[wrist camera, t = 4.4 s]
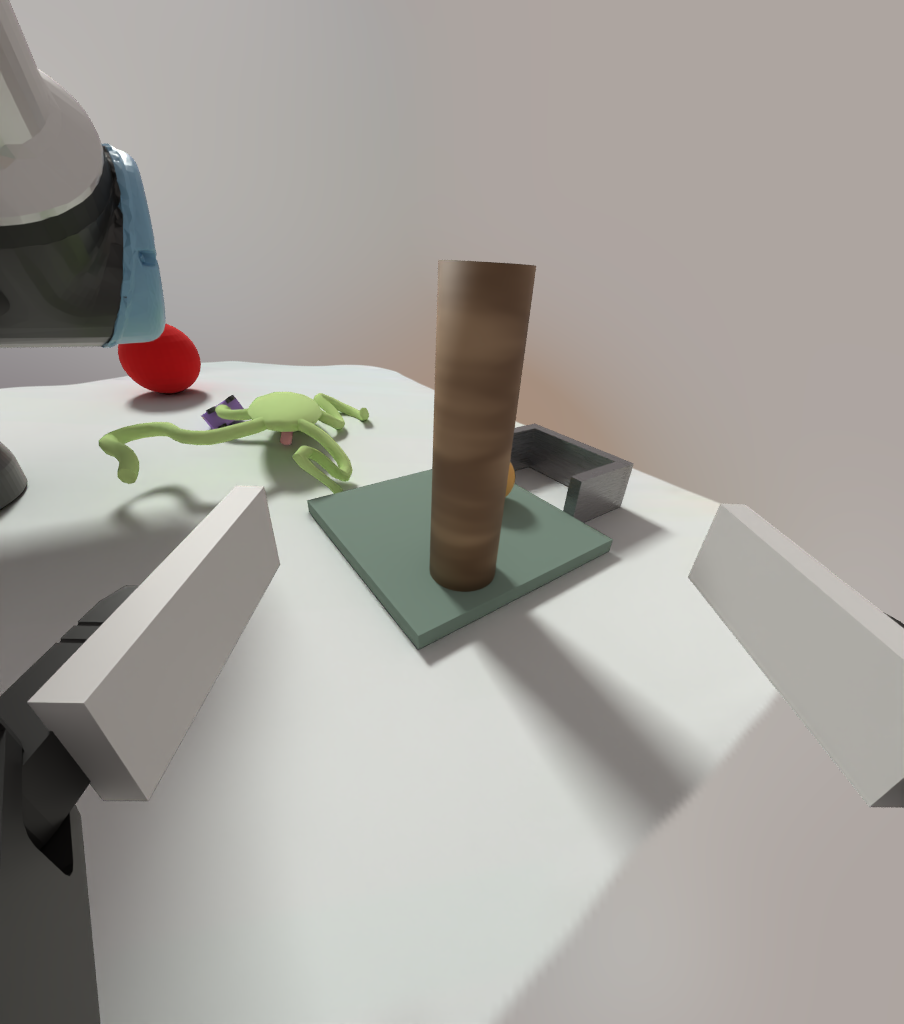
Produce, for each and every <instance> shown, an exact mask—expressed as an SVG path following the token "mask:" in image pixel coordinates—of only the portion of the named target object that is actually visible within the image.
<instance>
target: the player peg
mask: <svg viewBox="0 0 904 1024" xmlns="http://www.w3.org/2000/svg"><path fill="white" fill-rule="evenodd" d="M535 271H536V266H534V265H522V264H509V263H492V262H476V261H475V262H474V261H456V260H439V261H438V294H437V327H436V361H435V395H434V430H433V464H432V499H431V533H430V567H429V571H430V574H431V577H432V578H433V579H434V581H435V582H437V583H438V584H439V585H441V586H443V587H445V588H447V589H450V590H453V591H460V592H470V591H476V590H480V589H482V588H484V587H486V586H487V585H489V584H490V583H491V582H492V580H493V579H494V576H495V570H496V562H497V555H498V547H499V540H500V532H501V525H502V517H503V510H504V502H505V495H506V487H507V480H508V473H509V465H510V458H511V450H512V443H513V435H514V428H515V420H516V413H517V405H518V398H519V390H520V383H521V375H522V368H523V360H524V353H525V346H526V338H527V331H528V323H529V316H530V308H531V300H532V293H533V286H534V278H535Z"/></svg>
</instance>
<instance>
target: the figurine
mask: <svg viewBox="0 0 904 1024" xmlns="http://www.w3.org/2000/svg"><path fill="white" fill-rule="evenodd" d="M320 407H321V408H322V409H323V410H324V411H326V412H324V411H322V410H321V409H320ZM338 411H340V412H342V413H345V414H347V415H350V416H353V417H355V418H357V419H359V420H362V421H364V420H367V419H368V417H369V413H368V410H367V409H366V408H362V409H361V410H360V411H359V410H357V409H355V408H353V407H351V406H348V405H346V404H344V403H342V402H340V401H338V400H336V399H334V398H332V397H329V396H327V395H325V394H322V393H319V394H317V395H316V396H315V397H314V400H313V399H311V398H309V397H307V396H305V395H302V394H297V393H292V392H273V393H270V394H267V395H264V396H260V397H257V398H256V399H255V400H254V401H253V402H252V404H251V405H250V406H249V408H248V409H244V408H243V407H242V406H241V404H240V403H239V402H238V401H237V399H236V398H235V397H234V396H233V395H231V396H230V397H228V398H227V399H225V400H224V401H223V402H221V403H220V404H218V405H217V406H214V407H212V408H210V409H208V410H206V413H205V414H203V415H202V418H203V419H204V420H205V421H206V422H207V423H208V425H209V426H210V427H211V428H212V429H213V430H207V431H190V430H184V429H180V428H178V427H177V426H175V425H173V424H172V423H169V422H152V423H143V424H136V425H132V426H127V427H123V428H120V429H118V430H115V431H112V432H110V433H108V434H106V435H105V436H103V437H102V438H101V439H100V440H99V446H100V447H101V449H102V450H103V451H104V452H105V453H106V454H108V455H110V456H113V457H115V458H116V459H117V460H118V461H119V468H118V478H119V479H120V480H121V481H122V482H124V483H128V484H130V483H134V482H135V481H136V479H137V476H138V472H139V461H138V458H137V456H136V454H135V453H134V451H133V450H132V449H130V448H129V447H128V446H126V445H125V443H127V442H130V441H133V440H137V439H141V438H146V437H154V436H168V437H170V438H172V439H173V440H175V441H178V442H180V443H184V444H193V445H213V444H218V443H223V442H227V441H231V440H234V439H238V438H242V437H245V436H249V435H252V434H256V433H259V432H262V431H264V430H266V429H268V430H273V431H279V432H281V439H280V442H281V443H282V444H284V445H289V444H291V443H292V436H293V432H295V431H301V432H303V433H305V434H307V435H309V436H310V437H312V438H313V439H315V440H316V441H317V442H319V443H320V444H321V445H322V446H323V447H324V448H325V449H326V450H327V451H328V452H329V454H330V455H331V456H332V457H333V458H334V460H335V461H336V462H337V464H338V467H337V466H336V465H335V464H334V463H333V462H332V461H331V460H330V459H329V458H328V457H327V456H325V455H324V454H323V453H322V452H320V451H319V450H317V449H314V448H311V447H308V446H301V447H300V448H299V449H298V450H297V451H296V452H295V454H294V455H293V456H292V458H293V459H294V461H295V462H296V463H297V464H298V465H299V466H300V467H301V468H302V469H303V470H304V471H306V472H307V473H309V474H310V475H312V476H313V477H315V478H316V479H317V480H319V481H320V482H322V483H323V484H324V485H326V486H327V487H328V488H329V489H330V490H331V491H332V492H333V493H334V494H335V493H339V492H343V490H342V489H341V487H340V486H339V485H337V484H336V483H335V482H334V481H332V480H331V479H330V478H329V477H328V476H326V475H325V474H324V473H323V472H322V471H320V470H319V469H318V468H317V467H315V466H314V464H313V463H312V462H311V461H310V460H309V458H310V459H312V460H314V461H316V462H317V463H318V464H319V465H320V466H322V467H323V468H324V469H325V470H326V471H327V472H328V473H329V474H330V475H331V476H332V477H334V478H336V479H339V480H341V481H345V482H346V481H348V480H349V478H350V476H351V474H352V467H351V463H350V460H349V458H348V457H347V456H346V454H345V453H344V451H343V450H342V449H341V448H340V446H339V445H338V444H337V443H336V442H335V441H334V440H333V439H332V438H331V436H330V435H328V434H327V433H326V432H325V431H323V430H322V429H321V428H319V427H317V426H316V425H314V424H315V423H316V422H317V421H318V420H319V421H321V422H323V423H325V424H327V425H329V426H331V427H333V428H336V429H342V428H343V427H344V424H345V422H344V420H343V418H342V416H341V415H340V413H339V412H338ZM250 419H252V420H250ZM235 420H250V421H246V422H242V423H238V424H234V425H230V426H227V425H229V424H230V423H232V422H233V421H235Z"/></svg>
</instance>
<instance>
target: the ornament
mask: <svg viewBox="0 0 904 1024" xmlns="http://www.w3.org/2000/svg"><path fill="white" fill-rule="evenodd" d="M118 355H119V360H120V363H121V365H122V367H123V369H124V370H125V371H126V372H127V374H128V375H129V376H130V377H131V378H132V379H133V380H134V381H135V382H136V383H138V384H139V385H141V386H142V387H144V388H147V389H149V390H151V391H155V392H159V393H176V392H180V391H183V390H185V389H187V388H188V387H190V386H191V385H192V384H193V383H194V382H195V381H196V379H197V377H198V375H199V372H200V366H201V363H200V357H199V354H198V351H197V349H196V347H195V346H194V344H193V342H192V341H191V340H190V339H189V338H188V337H187V336H186V335H185V334H184V333H183V332H181V331H180V330H178V329H176V328H175V327H173V326H170V325H168V324H165V328H164V331H163V333H162V334H161V335H160V336H159V337H158V338H157V339H155V340H153V341H150V342H142V343H127V344H119V345H118Z"/></svg>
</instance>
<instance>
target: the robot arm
mask: <svg viewBox="0 0 904 1024" xmlns="http://www.w3.org/2000/svg"><path fill="white" fill-rule="evenodd" d="M164 328H165V306H164V298H163V290H162V283H161V277H160V271H159V266H158V263H157V260H156V250H155V245H154V236H153V230H152V225H151V220H150V215H149V210H148V205H147V200H146V196H145V192H144V187H143V184H142V180H141V176H140V172H139V170H138V167H137V164H136V162H135V161H134V159H133V158H132V157H131V156H130V155H129V154H127V153H125V152H123V151H121V150H117V149H115V148H113V147H112V146H110V145H109V144H101V141H100V138H99V136H98V133H97V131H96V129H95V127H94V125H93V124H92V122H91V120H90V118H89V117H88V115H87V114H86V112H85V110H84V109H83V108H82V107H81V105H80V104H79V103H78V102H77V101H76V99H75V98H74V97H72V95H71V94H69V93H68V92H67V91H66V90H65V89H64V88H63V87H62V86H61V85H60V84H58V83H57V82H56V81H55V80H53V79H52V78H51V77H50V76H48V75H47V74H45V73H44V72H42V71H41V70H39V69H38V68H37V66H36V64H35V61H34V59H33V56H32V54H31V52H30V49H29V47H28V44H27V42H26V40H25V37H24V35H23V32H22V30H21V28H20V25H19V23H18V20H17V18H16V15H15V13H14V11H13V8H12V6H11V3H10V1H9V0H0V348H25V347H94V346H95V347H96V346H97V347H103V348H111V347H113V346H115V345H117V344H127V343H142V342H150V341H153V340H155V339H157V338H158V337H159V336H160V335H161V334H162V333H163V331H164ZM26 485H27V479H26V476H25V475H24V473H23V471H22V469H21V467H20V465H19V463H18V462H17V460H16V458H15V456H14V455H13V454H12V453H11V451H10V450H9V449H8V448H7V447H6V446H4V445H3V444H2V443H1V442H0V509H1V508H3V507H4V506H6V505H7V504H9V503H10V502H12V501H13V500H14V499H15V498H17V497H18V496H19V495H20V494H21V493H22V492H23V490H24V489H25V487H26ZM279 566H280V562H279V557H278V552H277V547H276V542H275V538H274V533H273V528H272V523H271V518H270V513H269V508H268V504H267V499H266V494H265V489H264V487H263V486H235V487H234V488H233V489H232V490H231V491H230V492H229V493H228V494H227V495H226V496H225V498H224V499H223V500H222V501H221V502H220V503H219V504H218V505H217V506H216V507H215V508H214V509H213V510H212V511H211V512H210V513H209V514H208V515H207V516H206V517H205V518H204V519H203V520H202V521H201V522H200V523H199V524H198V525H197V527H196V528H195V529H194V530H193V531H192V532H191V533H190V534H189V535H188V536H187V537H186V538H185V539H184V540H183V541H182V542H181V543H180V544H179V545H178V546H177V547H176V548H175V549H174V550H173V551H172V552H171V553H170V555H169V556H168V557H167V558H166V559H165V560H164V561H163V562H162V563H161V564H160V565H159V566H158V567H157V568H156V569H155V570H154V571H153V572H152V573H151V574H150V575H149V576H148V577H147V578H146V579H145V580H144V581H143V582H142V584H141V585H140V586H128V585H126V586H124V587H123V588H121V589H119V590H118V591H116V592H114V593H113V594H111V595H109V596H108V597H106V598H104V599H103V600H101V601H99V602H98V603H97V604H96V605H95V606H94V607H93V608H92V609H91V610H90V611H89V612H88V613H87V614H86V615H85V616H84V617H82V618H81V619H80V620H79V621H78V625H77V626H73V627H72V628H71V629H70V630H69V631H68V632H67V633H66V634H65V635H64V636H63V637H62V638H61V641H60V643H55V644H54V645H53V646H52V647H51V648H50V649H49V650H48V651H47V652H46V653H45V654H44V655H43V656H42V657H41V658H40V659H39V660H38V661H37V662H36V663H35V664H34V665H33V666H32V667H30V668H29V669H28V670H27V671H26V672H25V673H24V674H23V675H22V676H21V677H20V678H19V679H18V680H17V681H16V682H15V683H14V684H13V685H12V686H11V687H10V688H9V689H8V690H7V691H6V692H4V693H3V694H2V695H1V696H0V1024H100V1015H99V1004H98V994H97V983H96V972H95V962H94V951H93V941H92V930H91V920H90V909H89V899H88V888H87V877H86V867H85V856H84V846H83V835H82V825H81V816H80V813H79V811H78V809H77V807H76V805H75V804H76V802H77V801H78V799H79V798H80V796H81V795H82V794H83V792H84V791H85V789H86V788H87V786H88V785H89V783H90V784H91V786H92V787H93V788H94V790H95V791H96V792H97V793H98V795H99V796H100V797H101V799H102V800H103V801H149V799H150V797H151V795H152V794H153V792H154V790H155V788H156V786H157V785H158V783H159V781H160V779H161V777H162V776H163V774H164V772H165V770H166V768H167V767H168V765H169V763H170V761H171V760H172V758H173V756H174V754H175V752H176V751H177V749H178V747H179V745H180V743H181V742H182V740H183V738H184V736H185V734H186V733H187V731H188V729H189V727H190V725H191V724H192V722H193V720H194V718H195V716H196V715H197V713H198V711H199V709H200V707H201V706H202V704H203V702H204V700H205V699H206V697H207V695H208V693H209V691H210V690H211V688H212V686H213V684H214V682H215V681H216V679H217V677H218V675H219V673H220V672H221V670H222V668H223V666H224V664H225V663H226V661H227V659H228V657H229V655H230V654H231V652H232V650H233V648H234V647H235V645H236V643H237V641H238V639H239V638H240V636H241V634H242V632H243V630H244V629H245V627H246V625H247V623H248V621H249V620H250V618H251V616H252V614H253V612H254V611H255V609H256V607H257V605H258V603H259V602H260V600H261V598H262V596H263V594H264V593H265V591H266V589H267V587H268V586H269V584H270V582H271V580H272V578H273V577H274V575H275V573H276V571H277V569H278V568H279ZM688 578H689V579H690V580H691V582H692V583H693V584H694V585H695V587H696V588H697V589H698V591H699V592H700V593H701V594H702V596H703V597H704V598H705V599H706V601H707V602H708V603H709V605H710V606H711V607H712V608H713V610H714V611H715V612H716V613H717V615H718V616H719V617H720V618H721V620H722V621H723V622H724V624H725V625H726V626H727V627H728V629H729V630H730V631H731V632H732V634H733V635H734V636H735V637H736V639H737V640H738V641H739V643H740V644H741V645H742V646H743V648H744V649H745V650H746V651H747V653H748V654H749V655H750V656H751V658H752V659H753V660H754V662H755V663H756V664H757V665H758V667H759V668H760V669H761V670H762V672H763V673H764V674H765V676H766V677H767V678H768V679H769V681H770V682H771V683H772V684H773V686H774V687H775V688H776V689H777V691H778V692H779V693H780V695H781V696H782V697H783V698H784V699H785V701H786V702H787V703H788V705H789V706H790V707H791V708H792V710H793V711H794V712H795V713H796V715H797V716H798V717H799V719H800V720H801V721H802V722H803V724H804V725H805V726H806V727H807V729H808V730H809V731H810V733H811V734H812V735H813V736H814V738H815V739H816V740H817V741H818V742H819V744H820V745H821V746H822V748H823V749H824V750H825V752H826V753H827V754H828V755H829V756H830V758H831V759H832V760H833V762H834V763H835V764H836V765H837V767H838V768H839V769H840V770H841V772H842V773H843V774H844V776H845V777H846V778H847V779H848V781H849V782H850V783H851V785H853V787H854V788H855V790H856V791H857V792H858V793H859V795H860V796H861V797H862V799H863V800H864V801H865V802H866V804H867V805H868V806H869V807H904V624H903V623H901V622H900V621H898V620H896V619H894V618H893V617H891V616H889V615H887V614H886V613H884V612H882V611H881V610H880V609H878V608H877V607H876V606H874V605H873V604H872V603H871V602H869V601H868V600H867V599H865V598H864V597H863V596H862V595H861V594H859V593H858V592H857V591H855V590H854V589H853V588H852V587H850V586H849V585H848V584H846V583H845V582H844V581H842V580H841V579H840V578H839V577H838V576H836V575H835V574H834V573H832V572H831V571H830V570H829V569H827V568H826V567H825V566H823V565H822V564H821V563H820V562H818V561H817V560H816V559H815V558H813V557H812V556H811V555H809V554H808V553H807V552H806V551H804V550H803V549H802V548H800V547H799V546H798V545H797V544H795V543H794V542H793V541H792V540H790V539H789V538H788V537H786V536H785V535H784V534H783V533H781V532H780V531H779V530H778V529H776V528H775V527H774V526H772V525H771V524H770V523H769V522H767V521H766V520H765V519H763V518H762V517H761V516H760V515H758V514H757V513H756V512H755V511H753V510H752V509H751V508H749V507H748V506H747V505H738V504H720V506H719V508H718V511H717V513H716V515H715V517H714V520H713V522H712V524H711V526H710V529H709V531H708V533H707V535H706V538H705V540H704V542H703V544H702V547H701V549H700V551H699V553H698V556H697V558H696V560H695V562H694V565H693V567H692V569H691V571H690V574H689V576H688Z"/></svg>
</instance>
